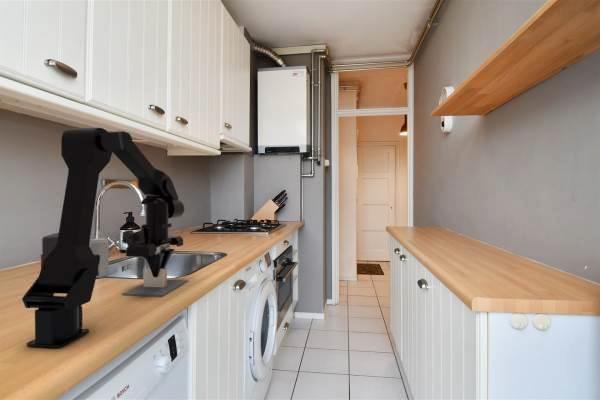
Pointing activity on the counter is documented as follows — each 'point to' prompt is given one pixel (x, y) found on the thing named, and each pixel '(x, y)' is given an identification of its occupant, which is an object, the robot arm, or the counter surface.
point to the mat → (155, 289)
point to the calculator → (48, 245)
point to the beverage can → (101, 255)
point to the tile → (154, 278)
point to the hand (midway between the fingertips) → (157, 276)
